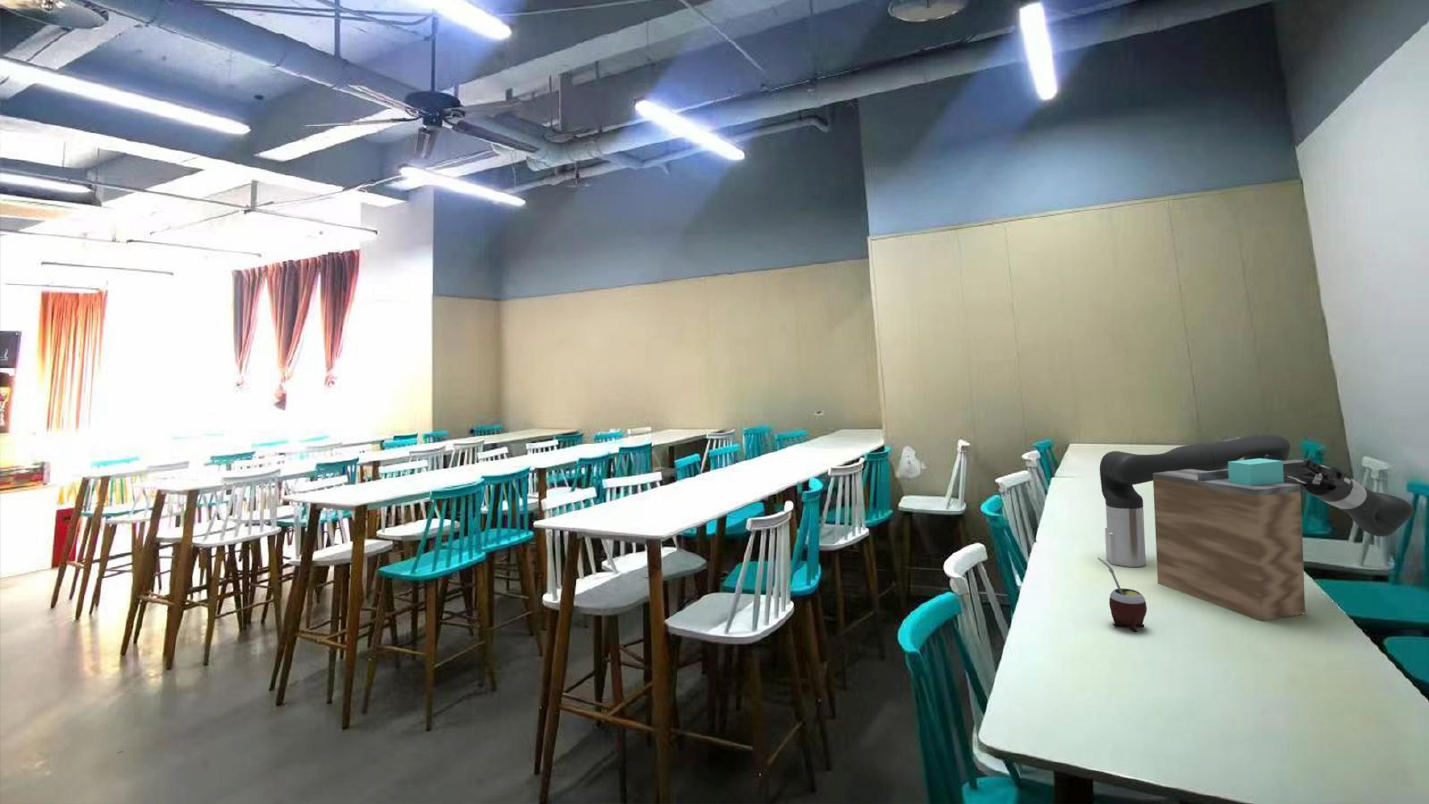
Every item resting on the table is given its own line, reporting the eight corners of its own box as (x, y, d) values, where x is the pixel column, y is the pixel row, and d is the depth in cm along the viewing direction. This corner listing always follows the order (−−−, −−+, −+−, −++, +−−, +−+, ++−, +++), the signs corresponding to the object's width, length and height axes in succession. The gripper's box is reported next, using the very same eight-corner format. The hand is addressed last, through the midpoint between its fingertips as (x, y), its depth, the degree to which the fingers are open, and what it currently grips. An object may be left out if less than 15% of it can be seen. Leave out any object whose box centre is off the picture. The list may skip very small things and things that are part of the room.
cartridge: (1291, 475, 143) (1291, 455, 143) (1315, 478, 138) (1315, 457, 138) (1228, 482, 141) (1228, 461, 140) (1250, 485, 136) (1250, 464, 135)
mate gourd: (1154, 633, 131) (1151, 567, 130) (1114, 632, 132) (1111, 567, 132) (1136, 619, 138) (1134, 556, 138) (1099, 619, 140) (1096, 557, 139)
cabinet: (1198, 577, 160) (1193, 461, 159) (1307, 613, 135) (1302, 475, 133) (1157, 583, 158) (1152, 465, 157) (1260, 621, 133) (1255, 481, 132)
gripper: (1306, 470, 149) (1258, 443, 147) (1377, 478, 135) (1325, 449, 133) (1295, 496, 149) (1246, 470, 147) (1365, 508, 135) (1313, 479, 133)
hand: (1284, 460), depth 140 cm, fingers open, 8 cm apart
